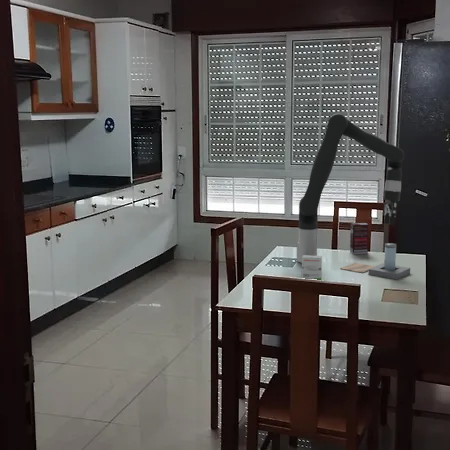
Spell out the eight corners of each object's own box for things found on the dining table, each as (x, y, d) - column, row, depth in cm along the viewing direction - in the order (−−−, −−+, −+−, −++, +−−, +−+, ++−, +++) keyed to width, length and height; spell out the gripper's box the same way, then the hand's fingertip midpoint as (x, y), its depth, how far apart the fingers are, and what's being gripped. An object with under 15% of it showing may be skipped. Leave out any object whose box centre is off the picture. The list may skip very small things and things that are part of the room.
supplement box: (364, 251, 336) (365, 222, 333) (368, 253, 331) (369, 224, 328) (349, 252, 335) (350, 223, 332) (352, 254, 330) (353, 224, 327)
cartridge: (381, 273, 291) (383, 244, 288) (386, 271, 294) (388, 242, 292) (391, 275, 288) (393, 246, 285) (396, 273, 291) (398, 244, 289)
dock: (368, 274, 290) (368, 269, 290) (382, 268, 301) (382, 263, 300) (396, 279, 281) (396, 274, 281) (410, 273, 292) (410, 268, 291)
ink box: (321, 281, 279) (322, 255, 277) (321, 284, 275) (321, 257, 272) (302, 280, 281) (302, 254, 279) (301, 283, 276) (301, 257, 274)
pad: (340, 269, 300) (340, 268, 300) (354, 263, 310) (354, 262, 310) (362, 273, 292) (362, 272, 292) (376, 267, 303) (376, 266, 303)
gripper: (380, 189, 304) (377, 222, 305) (388, 189, 290) (385, 224, 291) (395, 190, 304) (392, 224, 305) (404, 191, 290) (401, 226, 291)
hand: (388, 224), depth 298 cm, fingers open, 8 cm apart
